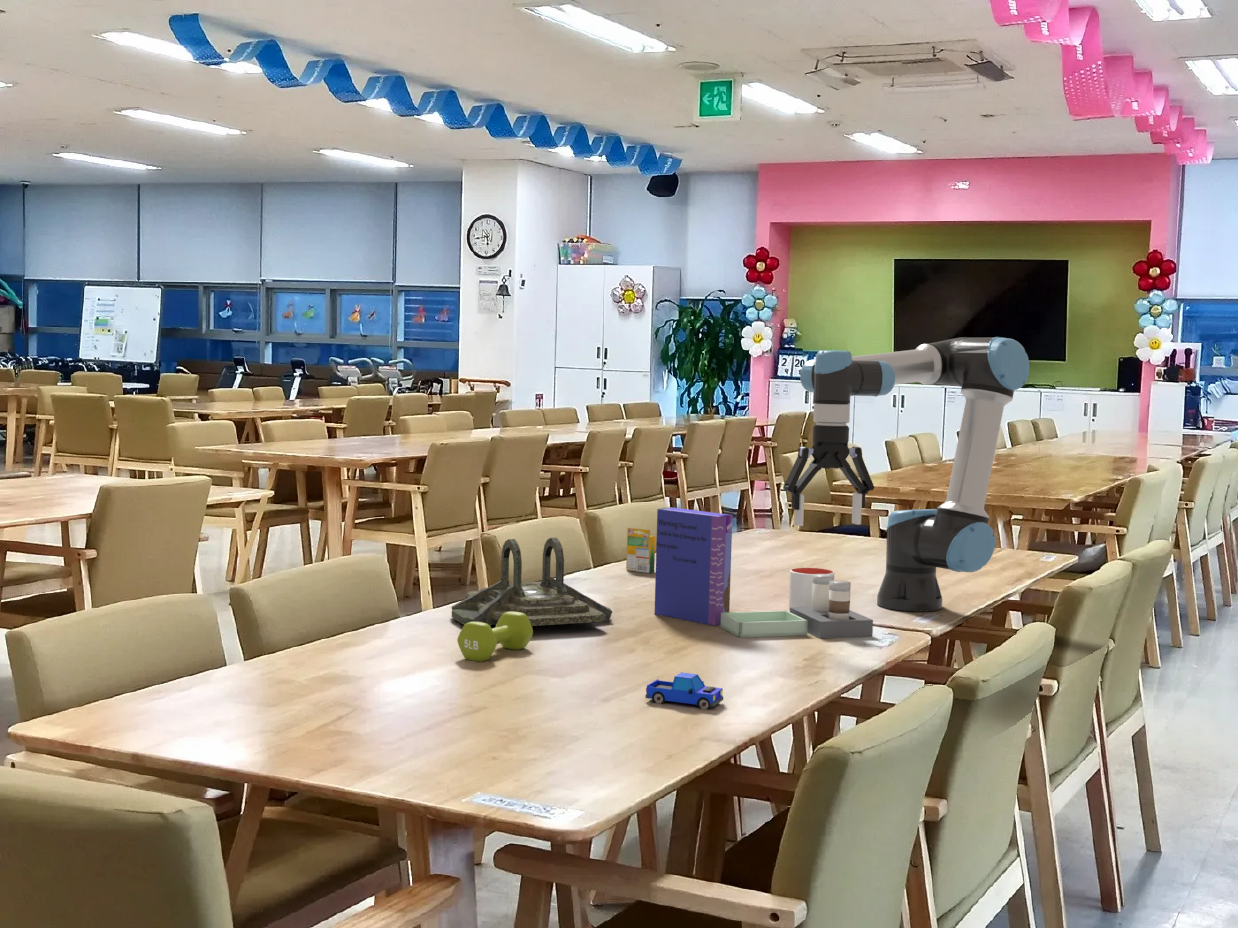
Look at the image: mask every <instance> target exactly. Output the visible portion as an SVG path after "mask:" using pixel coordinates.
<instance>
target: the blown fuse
mask: <svg viewBox="0 0 1238 928" xmlns="http://www.w3.org/2000/svg"><path fill="white" fill-rule="evenodd" d="M851 587H852V585H851V581H847V580H835V579H834V581H830V582H829V607H828V619H830V620H849V612H850V610H851V608H850V607H851V589H852V588H851Z"/></svg>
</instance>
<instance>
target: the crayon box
mask: <svg viewBox="0 0 1238 928" xmlns="http://www.w3.org/2000/svg"><path fill="white" fill-rule="evenodd" d="M626 531H627V532H626V561H625V562H626V567H625V569H626V570H627V572H635V573H636V572H637V573H644V574H645V573H646V574H651V573H655V566H656V536H655V535H651V529H645V528H644V529H643V528H633V527H627V530H626ZM638 531H639V532H641V533H639V534H638V533H636V532H638Z"/></svg>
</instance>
